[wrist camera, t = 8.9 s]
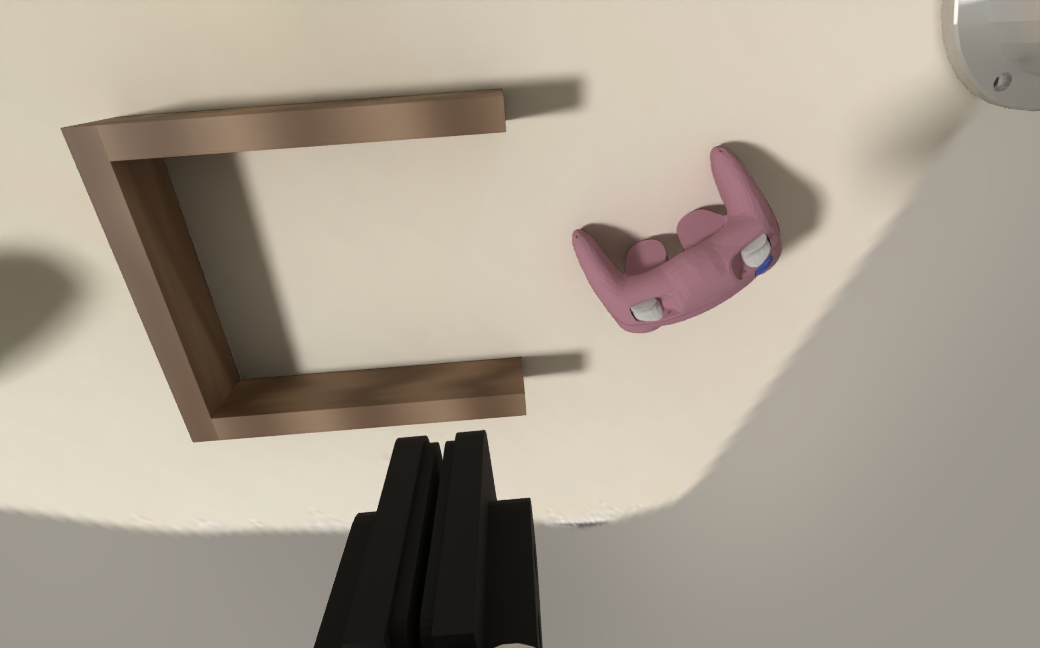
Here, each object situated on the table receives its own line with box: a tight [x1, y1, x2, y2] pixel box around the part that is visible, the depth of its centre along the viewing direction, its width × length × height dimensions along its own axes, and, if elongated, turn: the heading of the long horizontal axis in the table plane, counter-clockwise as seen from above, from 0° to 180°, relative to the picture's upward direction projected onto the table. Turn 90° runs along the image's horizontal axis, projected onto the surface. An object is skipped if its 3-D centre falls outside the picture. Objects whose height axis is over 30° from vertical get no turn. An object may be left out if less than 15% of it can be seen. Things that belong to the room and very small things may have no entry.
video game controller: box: [572, 146, 782, 333], centre depth 29 cm, size 10×5×7 cm, turn 122°
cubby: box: [61, 89, 526, 442], centre depth 29 cm, size 19×17×4 cm
